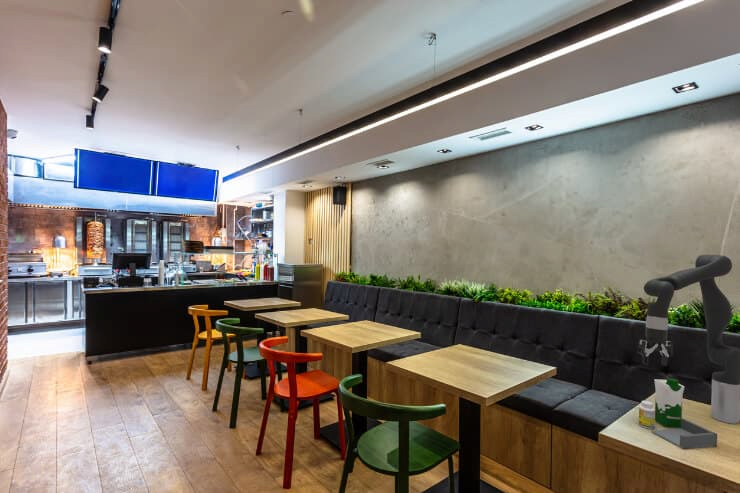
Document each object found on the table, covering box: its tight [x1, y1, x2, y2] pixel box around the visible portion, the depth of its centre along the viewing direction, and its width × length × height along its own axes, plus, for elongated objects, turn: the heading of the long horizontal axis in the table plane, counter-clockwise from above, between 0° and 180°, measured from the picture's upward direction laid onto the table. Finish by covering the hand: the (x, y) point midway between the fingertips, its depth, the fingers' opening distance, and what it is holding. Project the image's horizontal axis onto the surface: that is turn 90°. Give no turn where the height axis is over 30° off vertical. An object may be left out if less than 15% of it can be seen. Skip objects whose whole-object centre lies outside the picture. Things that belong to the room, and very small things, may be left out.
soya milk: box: [653, 377, 685, 429], centre depth 165 cm, size 9×9×20 cm
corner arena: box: [650, 418, 718, 450], centre depth 152 cm, size 16×13×5 cm
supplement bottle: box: [638, 400, 656, 430], centre depth 162 cm, size 6×6×10 cm
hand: (654, 364), depth 162 cm, fingers open, 8 cm apart
